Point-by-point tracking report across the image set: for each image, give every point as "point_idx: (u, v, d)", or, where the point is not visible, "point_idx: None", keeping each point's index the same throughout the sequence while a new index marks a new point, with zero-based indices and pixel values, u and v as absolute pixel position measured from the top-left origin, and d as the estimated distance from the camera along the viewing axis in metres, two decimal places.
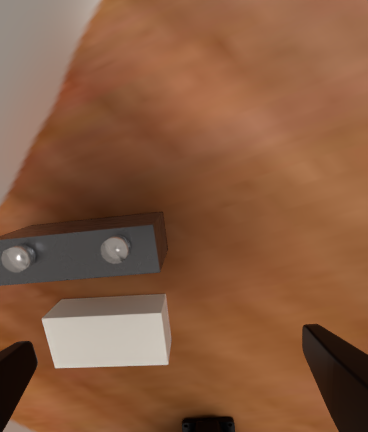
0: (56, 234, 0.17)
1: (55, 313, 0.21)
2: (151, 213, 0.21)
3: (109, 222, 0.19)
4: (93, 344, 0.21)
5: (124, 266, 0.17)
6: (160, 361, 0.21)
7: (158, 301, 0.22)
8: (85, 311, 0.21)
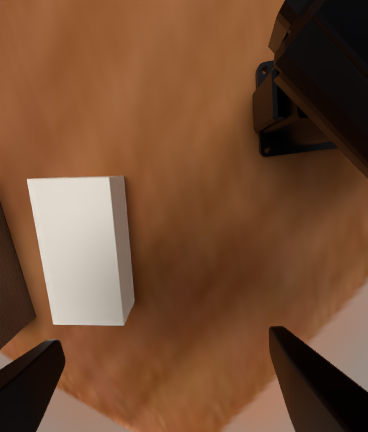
0: None
1: None
2: None
3: None
4: (84, 273, 0.16)
5: None
6: (103, 187, 0.15)
7: None
8: None
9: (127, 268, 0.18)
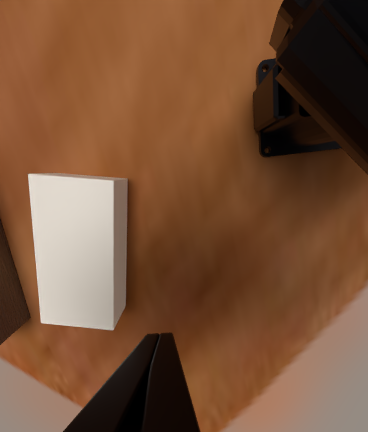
0: None
1: None
2: None
3: None
4: (78, 274, 0.16)
5: None
6: (107, 190, 0.15)
7: None
8: None
9: (122, 272, 0.18)
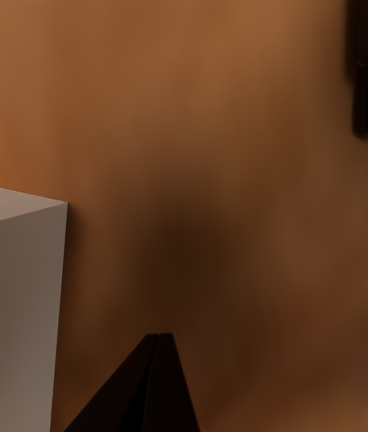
0: None
1: None
2: None
3: None
4: None
5: None
6: None
7: None
8: None
9: (36, 393, 0.09)
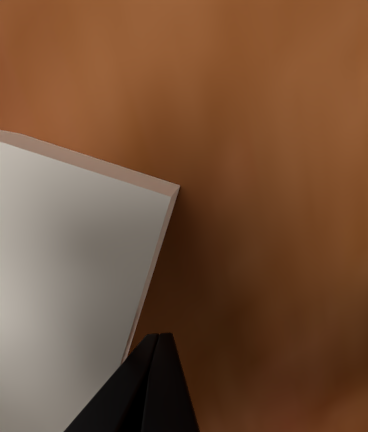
0: None
1: None
2: None
3: None
4: (15, 396, 0.06)
5: None
6: (144, 220, 0.05)
7: None
8: None
9: None
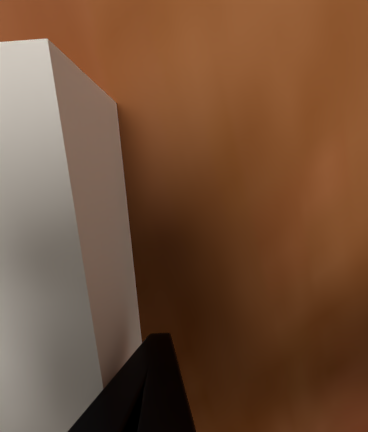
0: None
1: None
2: None
3: None
4: None
5: None
6: (30, 86, 0.04)
7: None
8: None
9: (128, 340, 0.07)
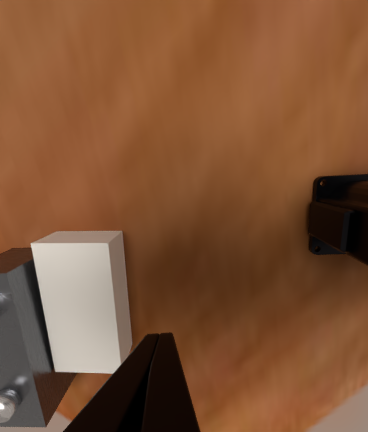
0: None
1: None
2: None
3: None
4: (84, 326, 0.17)
5: (5, 309, 0.15)
6: (103, 252, 0.16)
7: None
8: None
9: (125, 316, 0.19)
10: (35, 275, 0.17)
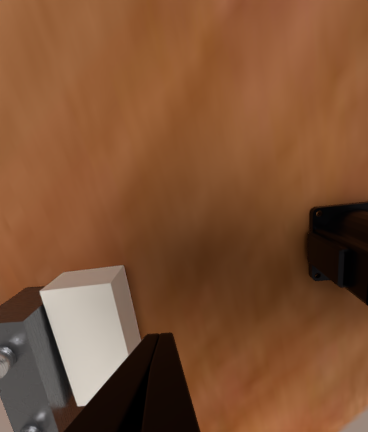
0: None
1: None
2: None
3: None
4: (99, 362, 0.18)
5: (23, 354, 0.16)
6: (107, 292, 0.17)
7: None
8: None
9: None
10: None
